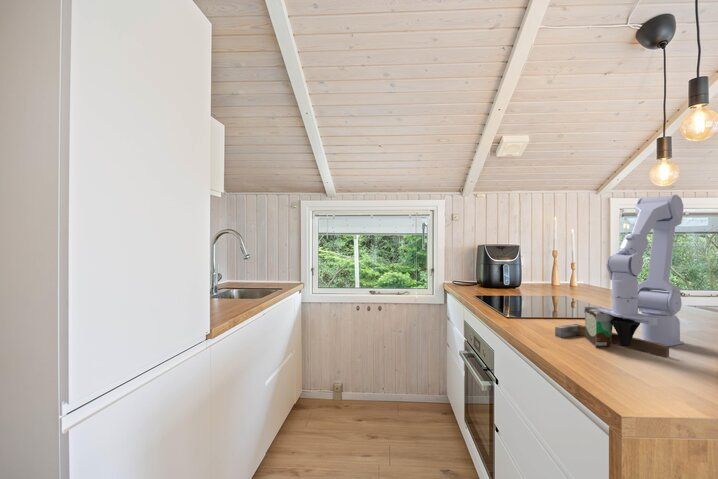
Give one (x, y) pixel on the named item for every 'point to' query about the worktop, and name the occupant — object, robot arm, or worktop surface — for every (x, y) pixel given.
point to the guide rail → (616, 340)
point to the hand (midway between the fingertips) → (625, 345)
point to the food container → (598, 328)
